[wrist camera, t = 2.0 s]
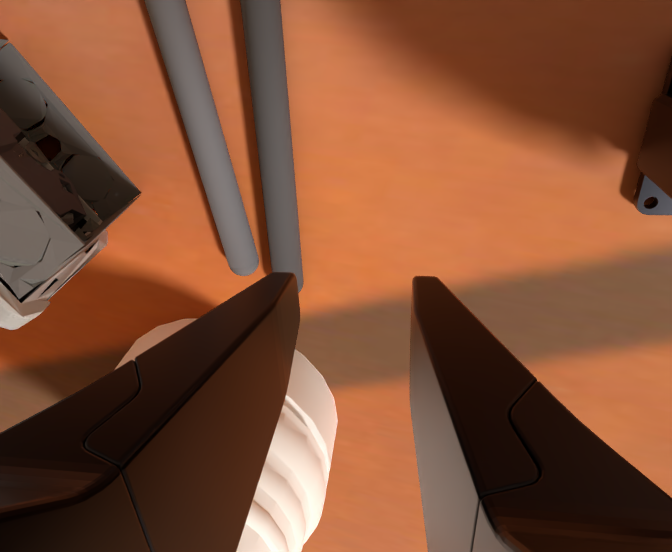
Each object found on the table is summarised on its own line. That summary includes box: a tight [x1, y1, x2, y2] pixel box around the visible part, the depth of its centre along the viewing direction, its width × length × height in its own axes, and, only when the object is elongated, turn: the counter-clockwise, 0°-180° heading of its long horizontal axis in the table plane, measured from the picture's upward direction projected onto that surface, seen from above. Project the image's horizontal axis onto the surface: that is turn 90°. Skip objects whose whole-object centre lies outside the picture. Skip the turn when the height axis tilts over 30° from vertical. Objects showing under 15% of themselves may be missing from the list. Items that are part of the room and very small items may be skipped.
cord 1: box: [144, 0, 259, 276], centre depth 21 cm, size 1×15×1 cm, turn 11°
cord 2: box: [240, 0, 303, 293], centre depth 21 cm, size 1×16×1 cm, turn 3°
